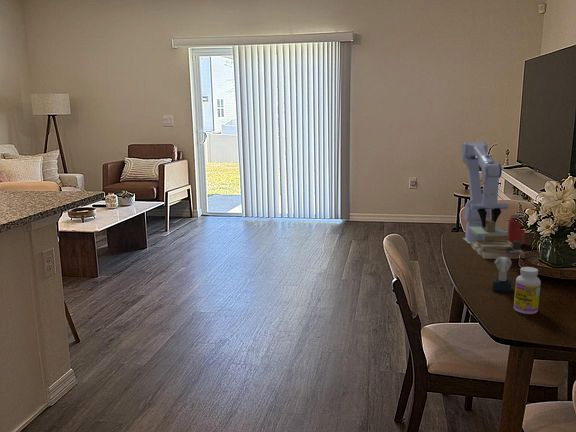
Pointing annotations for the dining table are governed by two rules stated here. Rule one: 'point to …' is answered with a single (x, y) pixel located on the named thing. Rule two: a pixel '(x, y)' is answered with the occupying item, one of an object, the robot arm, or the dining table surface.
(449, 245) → the dining table surface
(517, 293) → the supplement bottle
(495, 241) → the picture frame
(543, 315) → the dining table surface
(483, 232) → the cover
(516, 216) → the beer can
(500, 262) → the white and black piece
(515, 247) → the latch bolt
